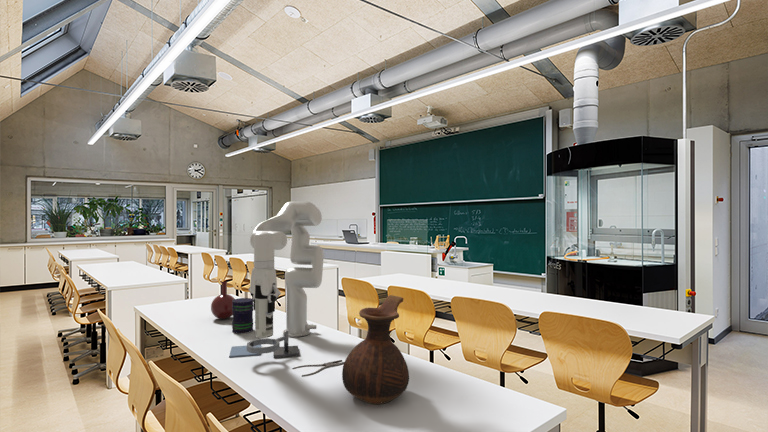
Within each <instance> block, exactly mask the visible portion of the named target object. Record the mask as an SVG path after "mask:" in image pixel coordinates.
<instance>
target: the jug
mask: <svg viewBox="0 0 768 432" xmlns="http://www.w3.org/2000/svg"><path fill="white" fill-rule="evenodd" d="M403 302H404V297H402V296H398V295H393V294H389V295H388V296H387V297H386V299H385V300H384V301H383V302H382V304H381V305H380V306H379V307H365V308H362V309H360V310H359V311H358V312H359V313H358V314H359V316H360V318H362V319H364V320H365V321H366V323H367V327H368V328H367V333H366V337H365V339H363V340H361V341H360V342H359V343H358V344H356V346H354V347H353V349H352V350H351V351H350V352H349V353H348V355H347V357H345V360H344V361H343V362H344V364H342V365H343V366H342V374H341V376H342V377H341V378H342V379H341V380H342V384H343V386H344V388H345V389H346V391H347V392H348V393H349V394H351V395H352V396H354V397H356V398H357V399H358V400H360V401H363V402H364V403H369V404H373V405H380V404H381V405H382V404H386V403H390V402H391V401H393V400H395V399H396V398H397V397H399V396H401V395H402V394H403V393H404V392H406V390H407V388H408V385H409V382H410V372H409V368H408V364H407V361H406V359H405V358H404V355H403V354H402V353H403V352H401V350H400V349H399V348H398V347H397V345H396V344H395V343H393V341H392V339H391V335H390V329H391V328H390V327H391V324H392V322H393V320H397V319H399V317H400V314H399V312H398V307H399V306H400V304H401V303H403Z"/></svg>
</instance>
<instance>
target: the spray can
mask: <svg viewBox="0 0 768 432" xmlns="http://www.w3.org/2000/svg"><path fill="white" fill-rule="evenodd" d="M260 287H261V286H260V285H255V310H254V314H255V315H254V323H255V324H254V327H255V330H254V331H255V334H254V335H255V337H256V338H257V339H265V338H270V337H272V336H274V312H271V313H268V302H269V300H268V297H267V296H263V295H262V293H261V288H260ZM271 294H272V292H271ZM271 298H272V296H271Z"/></svg>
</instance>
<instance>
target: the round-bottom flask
mask: <svg viewBox="0 0 768 432" xmlns="http://www.w3.org/2000/svg"><path fill="white" fill-rule="evenodd" d="M220 283H221V294H219V295H218V296H215V297H214V299H213V300H212V301H211V303H210V312H211V313H212V315H213V316H214V317H215V318H217V319H220V320H226V319H229V318H232V317H233V312H232V306H233V305H232V304H233V302H232V301H233V300H234V299H235V298H234V297H233V296H232V295H230V294H228V292H227V291H228V290H227V289H228V281H225V280H224V281H221V282H220Z"/></svg>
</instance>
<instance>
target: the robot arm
mask: <svg viewBox="0 0 768 432" xmlns="http://www.w3.org/2000/svg"><path fill="white" fill-rule="evenodd" d="M322 217H323V216H322V212H321V210H320V208H319V207H317V206H316V205H315V204H314V203H312V202H311V201H300V200H299V201H297V200H295V201H293V200H291V201H287V202H286V203H285V204H283V206H282V207H281V209H280V210H279V212H277V214H276V215H275V216H272V217H271V218H268V219H267V220H264V221H262V222H260V223H258V224H257V226H256V227H255V228H254V230H253V231H252V233H251V235H250V239H249V243H250V246H251V247H252V248H253V262H252V263H253V268H252V269H251V275H250V283H249V287H248V292H249V293H250V296H251V299H253V311H255V285H260V286H261V287H260V288H261V293H262V295H263V296H267V297H268V300H269V302H268V313H271V312H273V313H274V312H275V310H276V302H277V300H278V298H279V297H280V296H281V293H282V292H281V291H280V289H279V288H278V281H277V280H278V279H277V271H276V268H275V251H280V250H283V249H285V247H286V246H287V244H288V236H287V235H286V233H287V232H289V231H290V232H291V245H290V255H289V256H290V257H289V259H290V262H291V264H293V265H300V267H299V266H295V267H294V266H293V267H290V268H287V270H286V271H285V273H284V281H285V282H284V283H285V289H286V290H285V291H286V319H285V320H286V323H285V325H286V328H285V329H284V330H283V331H282V336H284V331H289V337H290V338H300V337H304V336H308V335H309V334H310V333H311V330H317V328H318V327H317V324H313V323H312V324H309V323H308V320H307V319H308V318H307V317H308V314H307V313H308V309H307V308H308V306H307V305H308V303H307V302H308V296H307V292H306V291H305V290H304V289H306V288H307V289H317V288H320V286H321V285H322V281H323V270H324V257H325V256H324V254H325V253H324V250H323V248H322V247H321V246H320V245H315V244H314V245H312V244H310V239H311V238H310V232H309V231H308V230H307V228H306V227H316V226H319V225H320V224H321V222H322ZM301 265H303V266H311V267H301ZM271 292H272V294H271ZM271 296H272V298H271Z"/></svg>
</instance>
